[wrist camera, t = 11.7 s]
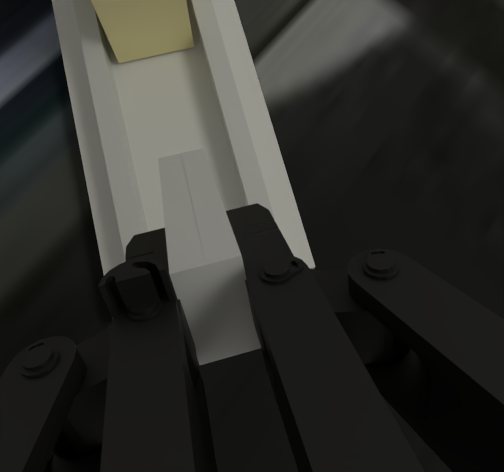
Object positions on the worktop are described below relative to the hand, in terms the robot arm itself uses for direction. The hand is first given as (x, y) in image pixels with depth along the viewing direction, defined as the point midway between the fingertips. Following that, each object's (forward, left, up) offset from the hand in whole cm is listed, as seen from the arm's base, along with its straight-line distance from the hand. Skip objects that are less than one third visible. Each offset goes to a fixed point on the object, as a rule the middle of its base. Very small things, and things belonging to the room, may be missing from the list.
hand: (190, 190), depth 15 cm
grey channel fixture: (0, +12, -13) cm, 17 cm away
